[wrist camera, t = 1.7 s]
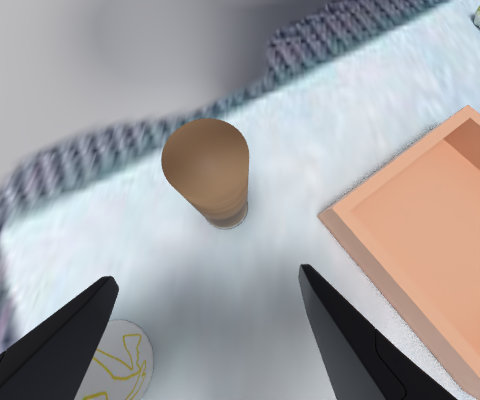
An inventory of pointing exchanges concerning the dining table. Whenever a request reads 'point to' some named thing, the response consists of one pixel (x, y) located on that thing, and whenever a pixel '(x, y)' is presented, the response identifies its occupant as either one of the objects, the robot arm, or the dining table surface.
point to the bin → (425, 240)
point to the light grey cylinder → (119, 365)
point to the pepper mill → (210, 169)
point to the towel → (477, 17)
